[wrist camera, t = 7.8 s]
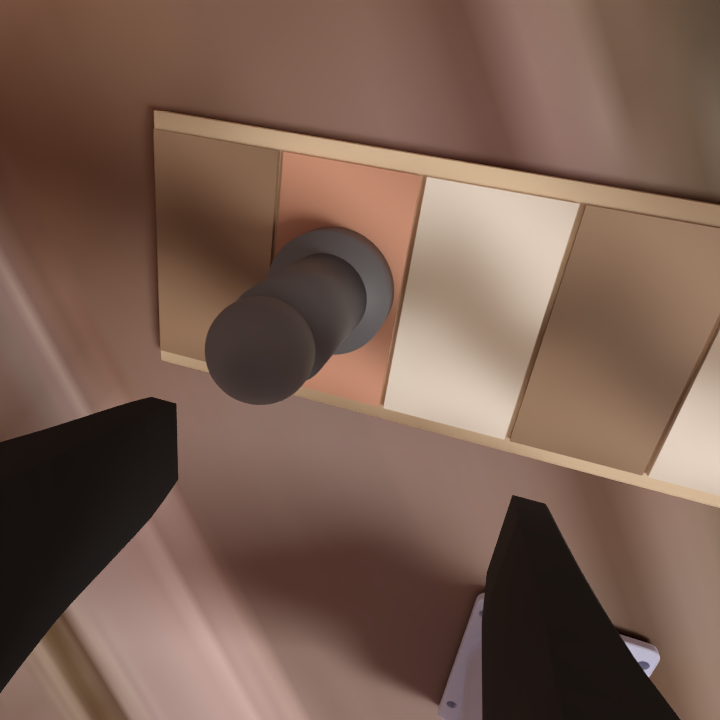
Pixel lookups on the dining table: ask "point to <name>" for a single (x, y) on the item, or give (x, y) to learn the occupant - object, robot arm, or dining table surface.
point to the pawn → (300, 315)
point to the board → (469, 294)
